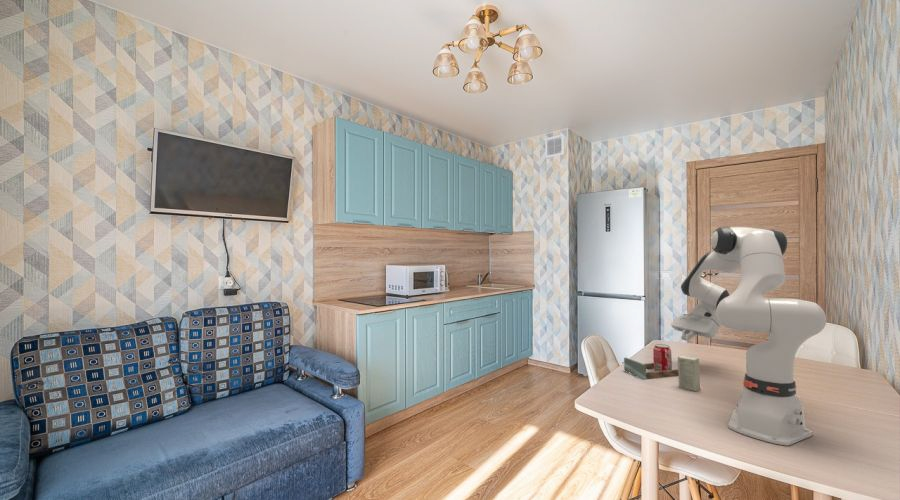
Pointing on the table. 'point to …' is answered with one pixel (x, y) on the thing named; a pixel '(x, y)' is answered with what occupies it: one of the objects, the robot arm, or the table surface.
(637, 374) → the can dock
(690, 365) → the skincare box
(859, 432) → the table surface
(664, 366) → the soda can
